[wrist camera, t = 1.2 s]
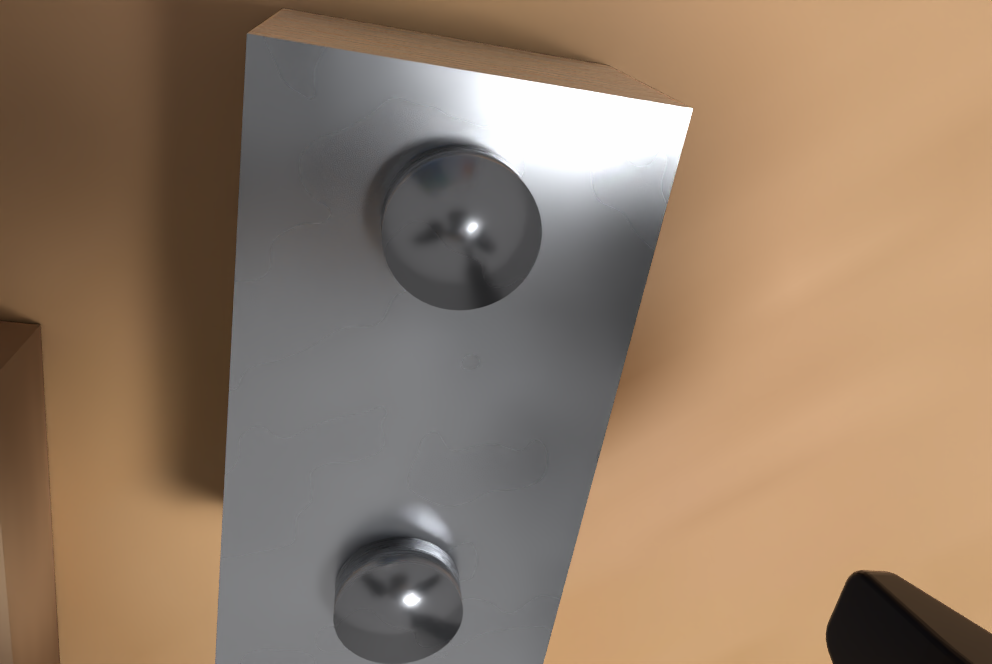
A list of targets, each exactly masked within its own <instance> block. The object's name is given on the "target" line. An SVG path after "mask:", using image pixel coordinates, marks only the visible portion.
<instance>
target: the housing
mask: <svg viewBox="0 0 992 664" xmlns="http://www.w3.org/2000/svg"><path fill="white" fill-rule="evenodd" d="M692 110H693V109H692V108H691V107H689V106H687V105H685V104H683V103H681V102H679V101H677V100H675V99H673V98H671V97H669V96H667V95H665V94H663V93H661V92H659V91H658V90H656V89H654V88H652V87H650V86H648V85H646V84H644V83H642V82H640V81H638V80H636V79H634V78H632V77H630V76H628V75H626V74H625V73H623V72H621V71H619V70H617V69H615V68H613V67H611V66H609V65H603V64H598V63H592V62H586V61H581V60H575V59H569V58H564V57H558V56H552V55H547V54H541V53H535V52H530V51H524V50H518V49H513V48H507V47H501V46H496V45H490V44H484V43H479V42H473V41H467V40H462V39H456V38H450V37H445V36H439V35H433V34H428V33H422V32H416V31H411V30H405V29H399V28H394V27H388V26H382V25H377V24H371V23H365V22H360V21H354V20H348V19H343V18H337V17H331V16H326V15H320V14H314V13H309V12H303V11H297V10H292V9H286V8H283V9H281V10H280V11H278V12H277V13H275V14H274V15H273V16H271V17H270V18H268V19H267V20H265V21H264V22H263V23H261V24H260V25H258V26H257V27H255V28H254V29H253V30H251V31H250V32H248V33H247V41H246V61H245V81H244V101H243V121H242V141H241V160H240V180H239V200H238V220H237V240H236V260H235V280H234V300H233V320H232V340H231V360H230V380H229V400H228V419H227V439H226V459H225V479H224V499H223V519H222V539H221V559H220V579H219V599H218V619H217V639H216V659H215V664H543V662H544V658H545V655H546V651H547V647H548V643H549V640H550V636H551V632H552V629H553V625H554V621H555V618H556V614H557V610H558V606H559V603H560V599H561V595H562V592H563V588H564V584H565V581H566V577H567V573H568V569H569V566H570V562H571V558H572V555H573V551H574V547H575V544H576V540H577V536H578V532H579V529H580V525H581V521H582V518H583V514H584V510H585V506H586V503H587V499H588V495H589V492H590V488H591V484H592V481H593V477H594V473H595V469H596V466H597V462H598V458H599V455H600V451H601V447H602V444H603V440H604V436H605V432H606V429H607V425H608V421H609V418H610V414H611V410H612V407H613V403H614V399H615V395H616V392H617V388H618V384H619V381H620V377H621V373H622V369H623V366H624V362H625V358H626V355H627V351H628V347H629V344H630V340H631V336H632V332H633V329H634V325H635V321H636V318H637V314H638V310H639V307H640V303H641V299H642V295H643V292H644V288H645V284H646V281H647V277H648V273H649V270H650V266H651V262H652V258H653V255H654V251H655V247H656V244H657V240H658V236H659V232H660V229H661V225H662V221H663V218H664V214H665V210H666V207H667V203H668V199H669V195H670V192H671V188H672V184H673V181H674V177H675V173H676V170H677V166H678V162H679V158H680V155H681V151H682V147H683V144H684V140H685V136H686V133H687V129H688V125H689V121H690V118H691V114H692Z"/></svg>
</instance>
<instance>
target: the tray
mask: <svg viewBox="0 0 992 664" xmlns="http://www.w3.org/2000/svg"><path fill="white" fill-rule="evenodd" d="M0 664H60V657H59V639H58V622H57V605H56V587H55V570H54V552H53V535H52V517H51V500H50V483H49V465H48V448H47V430H46V413H45V395H44V378H43V360H42V343H41V326H40V325H37V324H26V323H16V322H5V321H0Z"/></svg>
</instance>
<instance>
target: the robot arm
mask: <svg viewBox="0 0 992 664" xmlns="http://www.w3.org/2000/svg"><path fill="white" fill-rule="evenodd" d="M826 642H827V648H828V651H829V654H830V657H831V660H832V663H833V664H992V634H991V633H990V632H988V631H986V630H985V629H983V628H982V627H980V626H978V625H977V624H975V623H974V622H972V621H970V620H969V619H967V618H965V617H964V616H962V615H961V614H959V613H957V612H956V611H954V610H953V609H951V608H949V607H948V606H946V605H944V604H943V603H941V602H940V601H938V600H936V599H935V598H933V597H932V596H930V595H928V594H927V593H925V592H923V591H922V590H920V589H919V588H917V587H915V586H914V585H912V584H910V583H909V582H907V581H906V580H904V579H902V578H901V577H899V576H898V575H896V574H894V573H890V572H886V571H868V570H860V571H856V572H854V573H853V574H852V575H850V576H849V578H848V579H847V581H846V583H845V586H844V588H843V590H842V592H841V595H840V597H839V599H838V601H837V604H836V606H835V608H834V611H833V613H832V615H831V617H830V620H829V622H828V625H827V630H826Z"/></svg>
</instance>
